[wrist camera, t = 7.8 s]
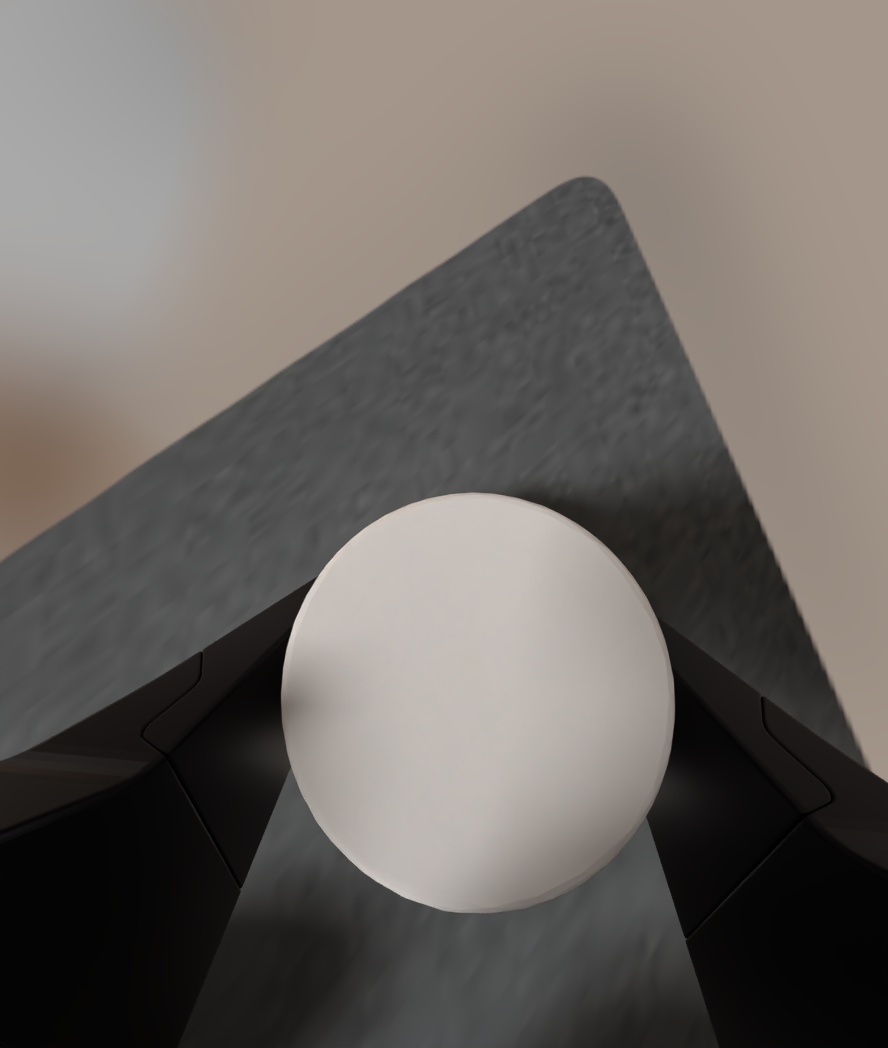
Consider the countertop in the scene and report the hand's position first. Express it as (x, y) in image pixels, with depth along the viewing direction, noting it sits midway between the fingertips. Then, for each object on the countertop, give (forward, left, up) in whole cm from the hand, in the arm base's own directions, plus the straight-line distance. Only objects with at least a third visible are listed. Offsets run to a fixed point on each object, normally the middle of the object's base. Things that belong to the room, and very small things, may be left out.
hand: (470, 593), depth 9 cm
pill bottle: (-1, -1, -7) cm, 7 cm away
